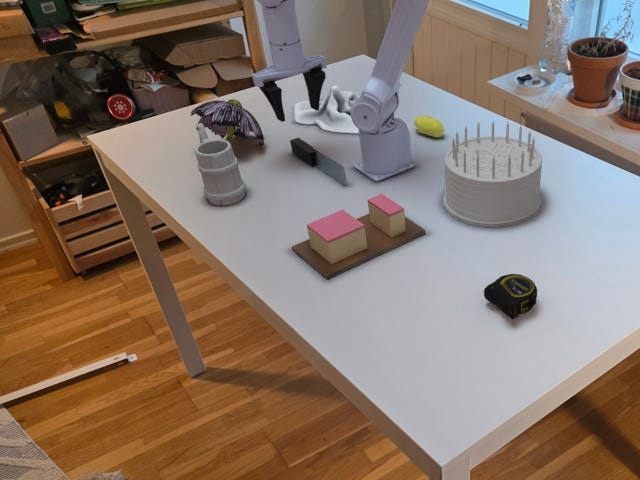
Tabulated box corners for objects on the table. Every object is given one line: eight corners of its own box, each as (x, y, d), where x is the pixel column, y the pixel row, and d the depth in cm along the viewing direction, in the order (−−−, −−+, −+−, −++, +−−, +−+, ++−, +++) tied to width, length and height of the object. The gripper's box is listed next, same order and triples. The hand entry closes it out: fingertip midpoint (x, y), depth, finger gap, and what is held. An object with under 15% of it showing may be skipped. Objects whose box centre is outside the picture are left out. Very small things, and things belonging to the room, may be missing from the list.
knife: (300, 150, 136) (297, 132, 134) (350, 183, 125) (347, 164, 123) (292, 153, 135) (288, 135, 133) (341, 187, 125) (338, 168, 122)
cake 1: (346, 232, 112) (342, 209, 108) (367, 248, 108) (364, 224, 105) (311, 247, 108) (306, 224, 105) (331, 264, 105) (327, 240, 102)
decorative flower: (277, 101, 131) (202, 96, 122) (280, 161, 135) (207, 161, 126) (251, 100, 142) (180, 96, 133) (254, 156, 146) (185, 155, 137)
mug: (213, 211, 119) (194, 149, 111) (194, 185, 127) (175, 125, 118) (253, 198, 122) (237, 137, 114) (232, 174, 130) (216, 115, 121)
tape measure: (481, 302, 98) (481, 282, 95) (516, 286, 101) (518, 266, 98) (509, 326, 94) (510, 306, 91) (545, 308, 97) (547, 288, 94)
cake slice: (384, 216, 115) (381, 193, 112) (405, 231, 111) (404, 208, 108) (370, 222, 114) (367, 199, 111) (391, 237, 110) (389, 214, 107)
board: (388, 209, 118) (388, 205, 118) (425, 233, 112) (425, 229, 112) (292, 250, 109) (291, 246, 109) (327, 279, 103) (326, 275, 103)
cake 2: (553, 187, 122) (560, 119, 113) (520, 236, 111) (525, 163, 102) (467, 170, 128) (466, 103, 119) (426, 214, 117) (423, 144, 107)
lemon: (435, 142, 137) (434, 125, 135) (409, 132, 142) (408, 114, 139) (449, 136, 140) (448, 118, 137) (423, 125, 144) (422, 108, 141)
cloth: (278, 113, 150) (272, 87, 146) (341, 90, 160) (338, 64, 155) (337, 142, 139) (332, 114, 134) (401, 115, 148) (399, 88, 144)
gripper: (307, 26, 123) (319, 98, 133) (238, 44, 117) (255, 118, 126) (327, 35, 119) (338, 108, 129) (256, 54, 113) (272, 130, 122)
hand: (298, 114), depth 127 cm, fingers open, 7 cm apart
